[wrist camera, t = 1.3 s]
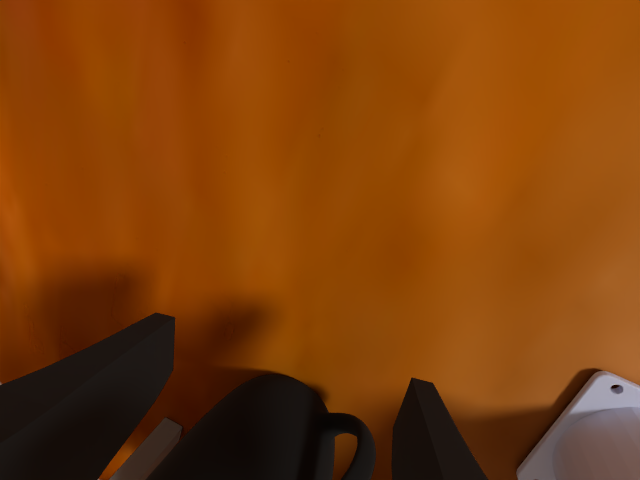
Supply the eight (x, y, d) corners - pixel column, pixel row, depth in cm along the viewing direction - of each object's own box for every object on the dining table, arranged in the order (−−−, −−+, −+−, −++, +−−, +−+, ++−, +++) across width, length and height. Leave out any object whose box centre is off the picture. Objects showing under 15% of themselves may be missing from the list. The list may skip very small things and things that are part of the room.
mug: (269, 481, 27) (183, 670, 18) (199, 380, 26) (70, 524, 17) (423, 441, 23) (415, 668, 13) (346, 316, 22) (279, 466, 12)
